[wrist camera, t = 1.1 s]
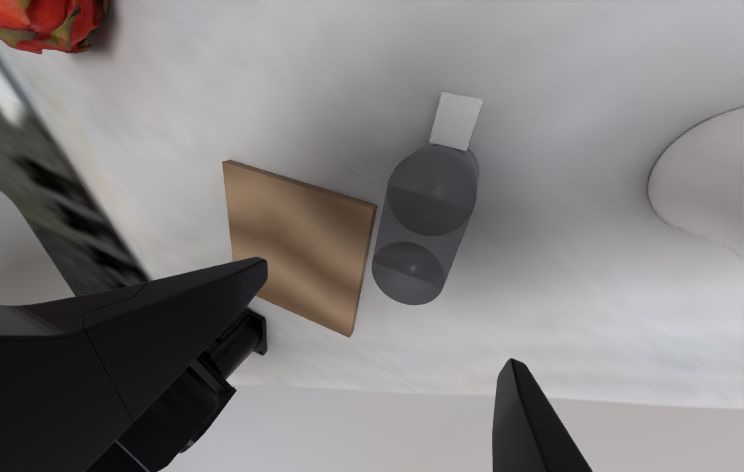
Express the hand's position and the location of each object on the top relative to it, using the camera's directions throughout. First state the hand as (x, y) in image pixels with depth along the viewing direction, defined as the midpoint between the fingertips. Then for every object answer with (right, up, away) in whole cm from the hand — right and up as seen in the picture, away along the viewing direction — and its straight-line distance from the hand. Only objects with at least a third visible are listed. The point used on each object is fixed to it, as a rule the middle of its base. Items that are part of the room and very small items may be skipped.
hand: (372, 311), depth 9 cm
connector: (+4, +6, +9) cm, 11 cm away
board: (-7, +1, +16) cm, 18 cm away
